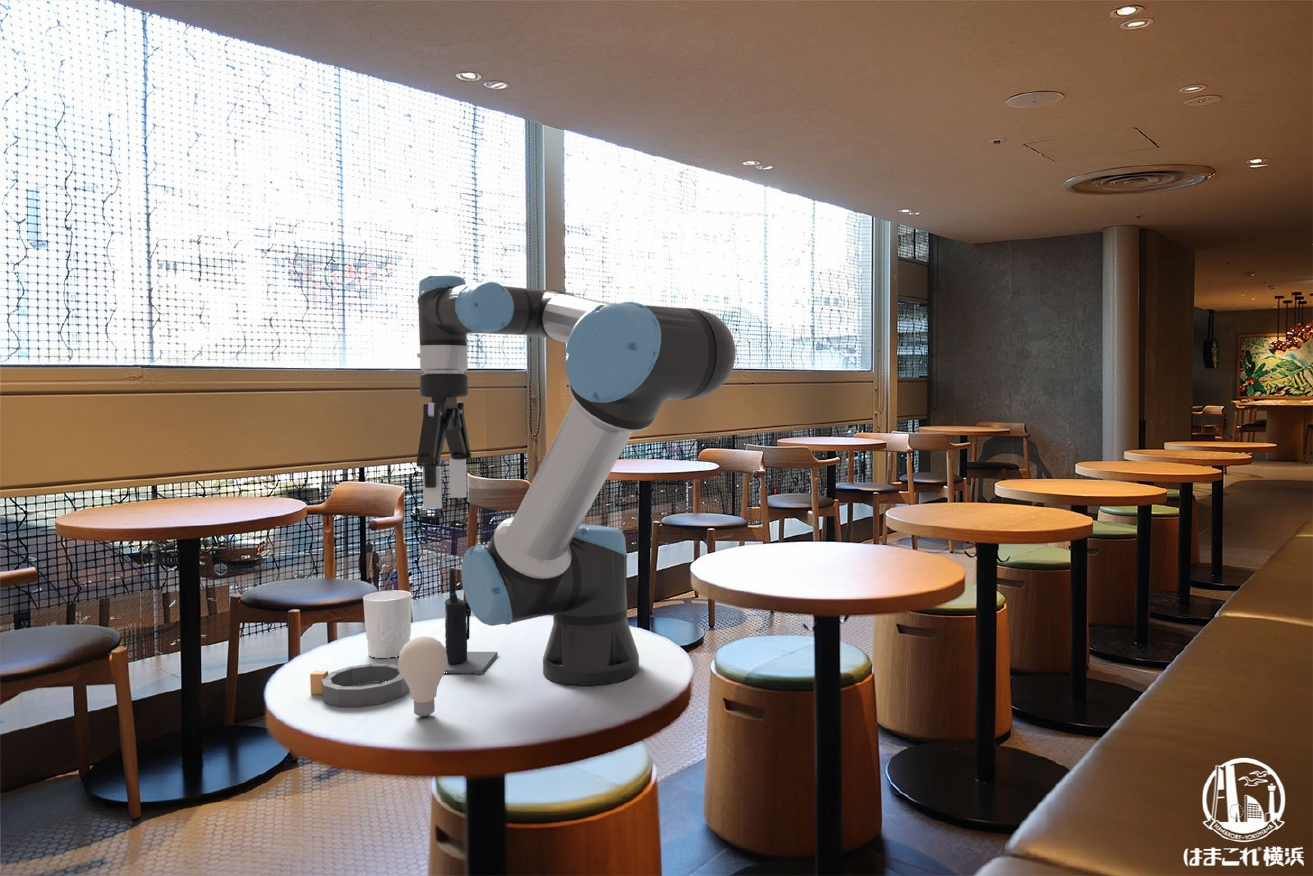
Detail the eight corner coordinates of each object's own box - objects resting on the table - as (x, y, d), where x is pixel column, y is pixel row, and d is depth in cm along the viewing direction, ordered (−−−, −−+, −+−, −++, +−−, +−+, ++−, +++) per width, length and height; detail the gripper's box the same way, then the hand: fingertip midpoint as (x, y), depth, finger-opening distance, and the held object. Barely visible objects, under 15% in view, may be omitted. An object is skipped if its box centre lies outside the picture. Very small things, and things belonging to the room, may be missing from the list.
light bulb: (405, 709, 122) (403, 631, 122) (452, 707, 122) (451, 629, 122) (394, 726, 115) (391, 644, 115) (444, 724, 116) (442, 642, 115)
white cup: (420, 647, 153) (418, 590, 152) (402, 660, 145) (400, 601, 145) (376, 646, 154) (374, 590, 153) (356, 660, 146) (355, 600, 145)
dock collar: (418, 680, 135) (418, 660, 135) (390, 707, 123) (390, 686, 123) (330, 679, 136) (330, 660, 135) (294, 706, 124) (293, 685, 124)
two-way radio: (444, 657, 144) (442, 567, 144) (472, 654, 146) (469, 565, 145) (447, 666, 139) (445, 573, 138) (475, 663, 141) (473, 571, 140)
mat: (497, 655, 147) (497, 651, 147) (482, 674, 137) (481, 670, 137) (439, 655, 148) (439, 651, 148) (419, 673, 138) (419, 669, 138)
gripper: (444, 373, 155) (446, 493, 156) (393, 371, 130) (396, 513, 131) (486, 373, 154) (488, 493, 155) (442, 371, 129) (445, 513, 131)
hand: (446, 502), depth 143 cm, fingers open, 13 cm apart
